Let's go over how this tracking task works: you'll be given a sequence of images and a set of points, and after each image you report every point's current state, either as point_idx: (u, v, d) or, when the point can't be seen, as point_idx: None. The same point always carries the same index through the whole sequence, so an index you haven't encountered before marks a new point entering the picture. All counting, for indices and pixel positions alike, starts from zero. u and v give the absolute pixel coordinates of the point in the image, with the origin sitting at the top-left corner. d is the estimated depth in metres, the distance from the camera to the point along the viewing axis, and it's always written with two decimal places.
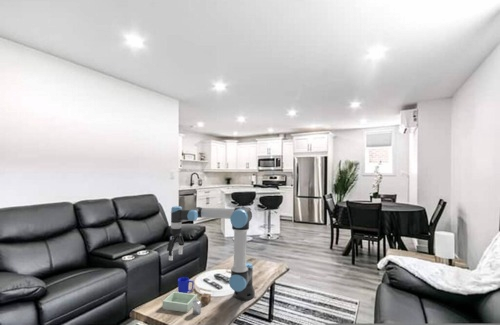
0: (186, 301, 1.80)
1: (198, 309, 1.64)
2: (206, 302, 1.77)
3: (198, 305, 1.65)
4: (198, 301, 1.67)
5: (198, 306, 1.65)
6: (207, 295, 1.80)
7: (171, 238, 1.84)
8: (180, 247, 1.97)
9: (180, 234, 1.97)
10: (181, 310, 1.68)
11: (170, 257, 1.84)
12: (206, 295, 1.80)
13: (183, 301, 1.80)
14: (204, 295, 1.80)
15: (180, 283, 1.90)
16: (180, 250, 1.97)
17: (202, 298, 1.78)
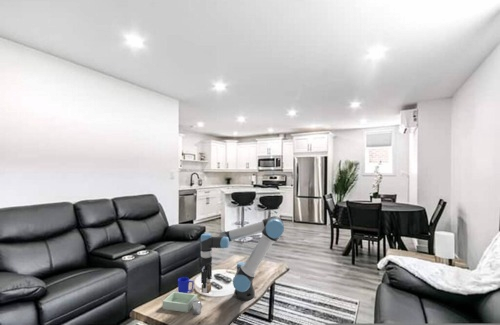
0: (186, 301, 1.80)
1: (198, 309, 1.64)
2: (207, 290, 1.77)
3: (198, 305, 1.65)
4: (198, 301, 1.67)
5: (198, 306, 1.65)
6: (207, 284, 1.80)
7: (203, 271, 1.74)
8: (208, 281, 1.83)
9: (210, 264, 1.86)
10: (181, 310, 1.68)
11: (204, 289, 1.77)
12: None
13: (183, 301, 1.80)
14: None
15: (180, 283, 1.90)
16: None
17: None
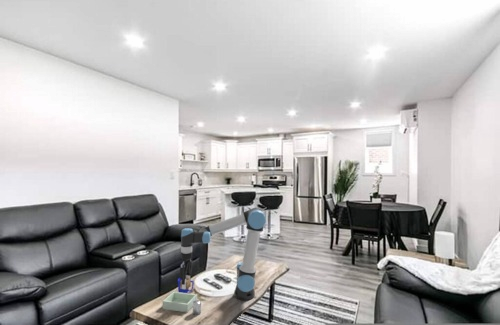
0: (186, 301, 1.80)
1: (198, 309, 1.64)
2: None
3: (198, 305, 1.65)
4: (198, 301, 1.67)
5: (198, 306, 1.65)
6: (187, 280, 1.75)
7: (182, 266, 1.70)
8: (188, 277, 1.78)
9: (190, 260, 1.81)
10: (181, 310, 1.68)
11: (183, 286, 1.72)
12: (186, 280, 1.75)
13: (183, 301, 1.80)
14: None
15: None
16: None
17: (181, 283, 1.73)
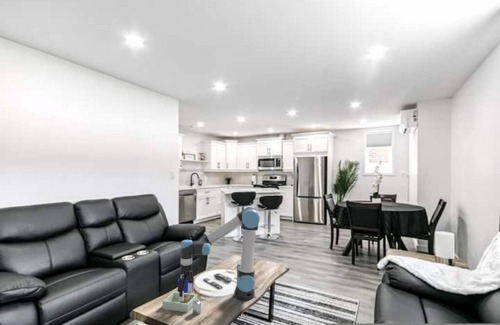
0: None
1: (198, 309, 1.64)
2: None
3: (198, 305, 1.65)
4: (198, 301, 1.67)
5: (198, 306, 1.65)
6: (187, 297, 1.75)
7: (181, 277, 1.69)
8: (190, 285, 1.81)
9: (190, 270, 1.81)
10: (181, 310, 1.68)
11: (181, 298, 1.69)
12: (185, 297, 1.75)
13: None
14: None
15: None
16: (190, 288, 1.81)
17: None
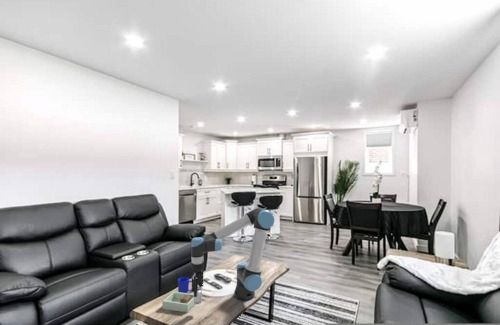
0: None
1: (199, 298, 1.65)
2: None
3: (199, 294, 1.65)
4: (199, 290, 1.68)
5: (199, 295, 1.65)
6: (187, 297, 1.75)
7: (193, 278, 1.61)
8: None
9: (201, 270, 1.72)
10: (181, 310, 1.68)
11: (195, 298, 1.64)
12: (185, 297, 1.75)
13: None
14: (183, 297, 1.75)
15: (180, 283, 1.90)
16: None
17: (181, 300, 1.73)
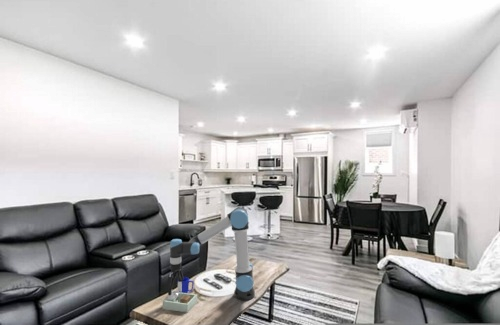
0: None
1: (175, 300, 1.75)
2: None
3: (176, 296, 1.75)
4: (176, 292, 1.78)
5: (175, 297, 1.75)
6: (187, 297, 1.75)
7: (170, 276, 1.71)
8: (179, 283, 1.83)
9: (180, 269, 1.83)
10: (181, 310, 1.68)
11: (169, 296, 1.71)
12: (185, 297, 1.75)
13: None
14: (183, 297, 1.75)
15: None
16: (179, 287, 1.83)
17: (181, 300, 1.73)
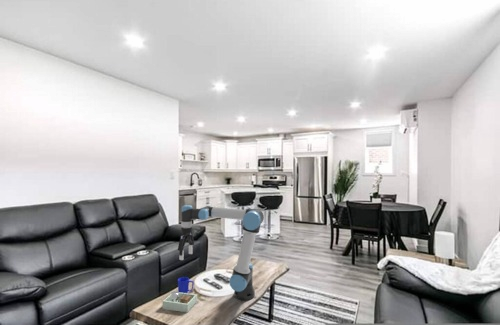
0: None
1: (176, 299, 1.75)
2: None
3: (176, 296, 1.75)
4: (176, 292, 1.78)
5: (176, 297, 1.75)
6: (187, 297, 1.75)
7: (182, 237, 1.82)
8: (190, 246, 1.94)
9: None
10: (181, 310, 1.68)
11: (181, 257, 1.81)
12: (185, 297, 1.75)
13: None
14: (183, 297, 1.75)
15: (180, 283, 1.90)
16: (190, 250, 1.94)
17: (181, 300, 1.73)
